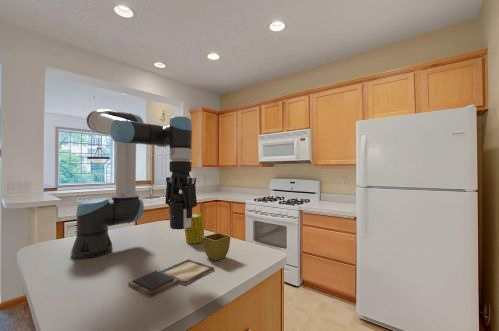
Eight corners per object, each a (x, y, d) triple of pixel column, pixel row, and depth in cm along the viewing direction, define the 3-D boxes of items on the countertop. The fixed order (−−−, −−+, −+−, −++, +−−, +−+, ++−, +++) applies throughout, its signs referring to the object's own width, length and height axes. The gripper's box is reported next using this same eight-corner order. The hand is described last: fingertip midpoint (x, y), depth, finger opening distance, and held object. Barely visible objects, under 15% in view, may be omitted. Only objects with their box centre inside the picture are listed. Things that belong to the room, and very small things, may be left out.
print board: (157, 274, 82) (157, 271, 82) (188, 261, 93) (188, 258, 93) (184, 285, 74) (184, 282, 74) (214, 269, 85) (214, 267, 86)
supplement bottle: (165, 229, 79) (166, 194, 79) (176, 224, 86) (176, 192, 86) (184, 230, 77) (184, 194, 78) (193, 225, 84) (193, 192, 84)
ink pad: (133, 281, 74) (133, 280, 74) (155, 272, 81) (155, 270, 81) (151, 291, 69) (151, 289, 69) (173, 280, 75) (173, 278, 75)
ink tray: (128, 285, 74) (128, 282, 74) (156, 273, 82) (156, 270, 82) (150, 297, 67) (150, 293, 67) (178, 282, 75) (178, 279, 75)
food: (206, 245, 118) (186, 249, 113) (200, 234, 128) (181, 237, 123) (207, 217, 114) (187, 220, 110) (200, 208, 124) (181, 211, 120)
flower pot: (201, 258, 97) (201, 236, 97) (217, 252, 103) (217, 232, 103) (214, 264, 91) (214, 241, 91) (231, 257, 97) (231, 236, 97)
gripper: (154, 161, 85) (154, 224, 84) (191, 159, 73) (190, 232, 73) (172, 161, 91) (171, 220, 90) (208, 160, 79) (208, 227, 79)
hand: (180, 225), depth 82 cm, fingers closed on supplement bottle, 7 cm apart
